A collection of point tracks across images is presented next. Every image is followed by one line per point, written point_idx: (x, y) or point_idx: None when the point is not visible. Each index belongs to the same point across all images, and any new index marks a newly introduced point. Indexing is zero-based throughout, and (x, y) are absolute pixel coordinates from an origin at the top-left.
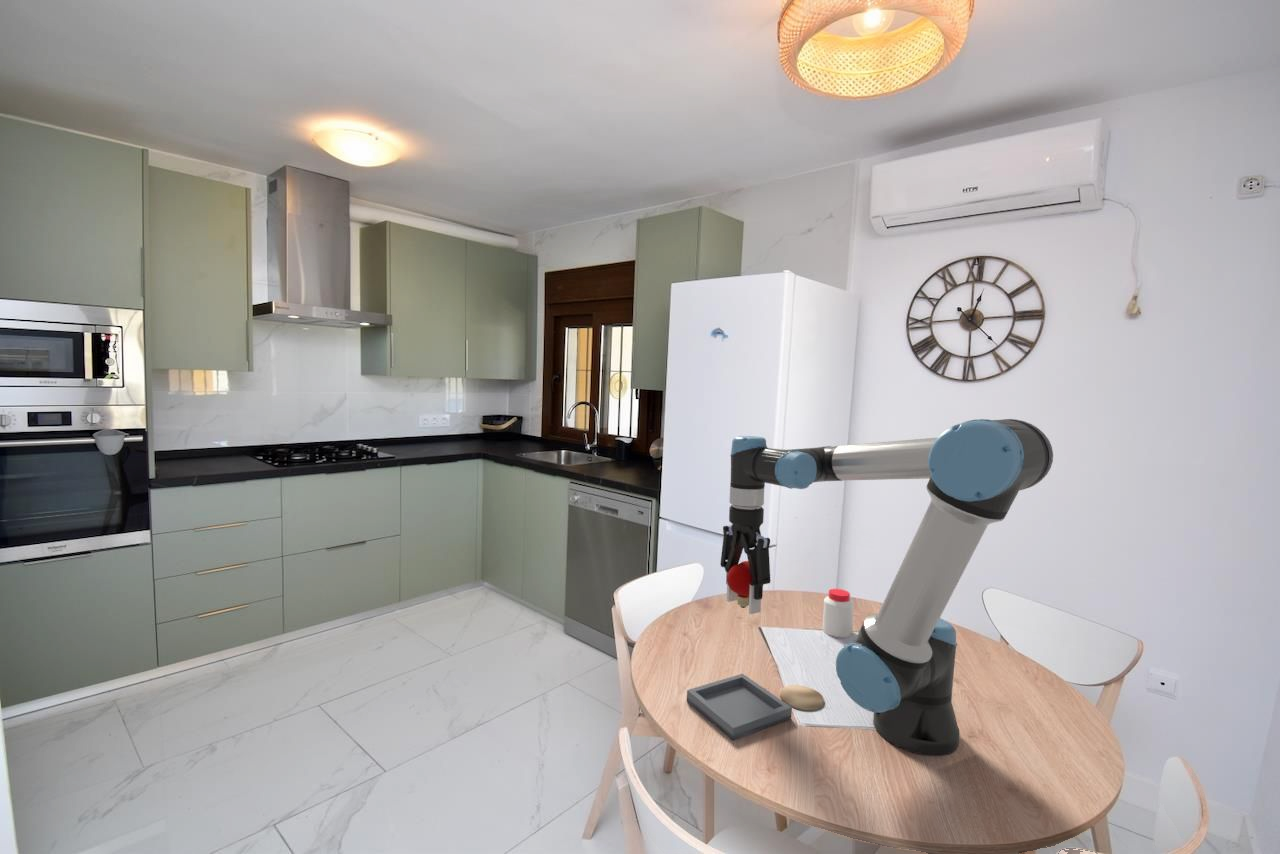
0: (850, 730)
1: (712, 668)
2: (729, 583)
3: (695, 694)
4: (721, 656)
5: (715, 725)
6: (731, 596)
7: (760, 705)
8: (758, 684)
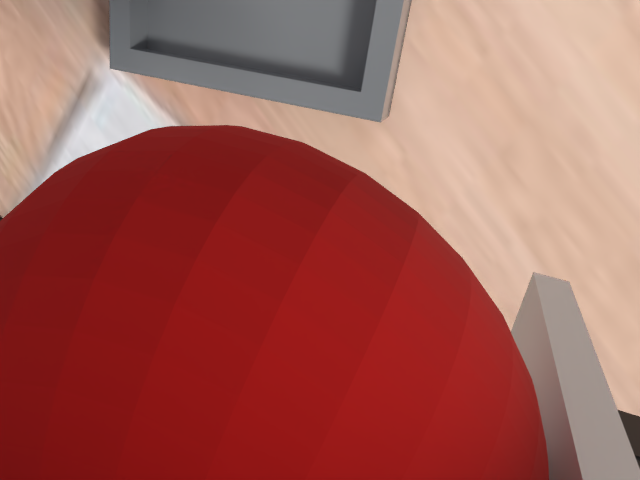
0: (26, 162)
1: (573, 117)
2: (298, 142)
3: None
4: (615, 243)
5: None
6: (524, 327)
7: (219, 20)
8: (279, 101)
